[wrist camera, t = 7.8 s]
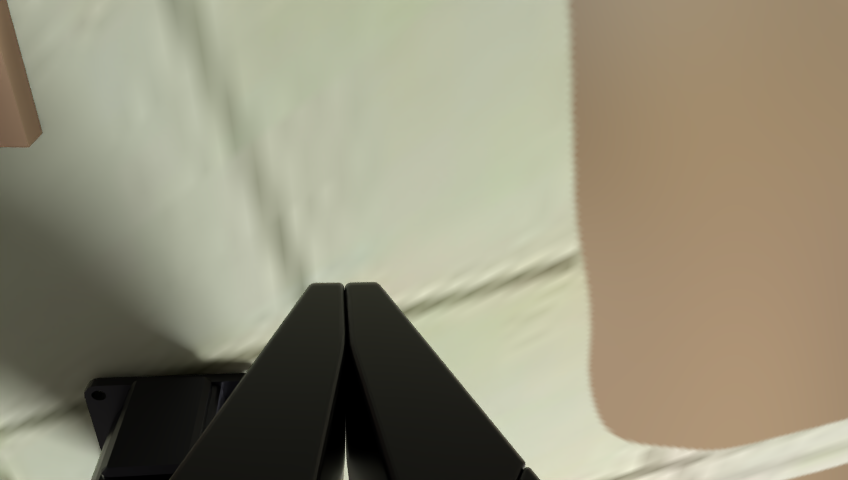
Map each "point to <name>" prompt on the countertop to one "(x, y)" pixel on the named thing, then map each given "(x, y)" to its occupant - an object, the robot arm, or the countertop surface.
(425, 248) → the countertop surface
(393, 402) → the robot arm
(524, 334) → the countertop surface
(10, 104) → the dumbbell on board
